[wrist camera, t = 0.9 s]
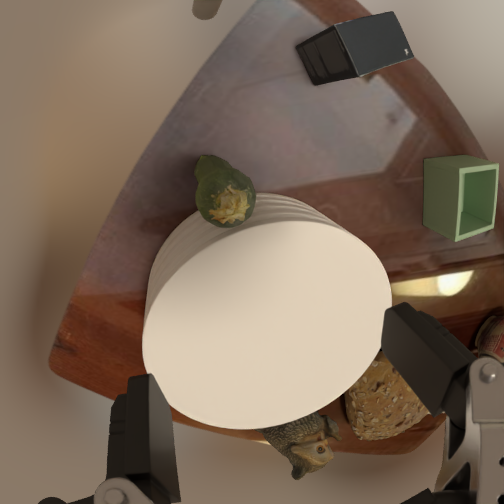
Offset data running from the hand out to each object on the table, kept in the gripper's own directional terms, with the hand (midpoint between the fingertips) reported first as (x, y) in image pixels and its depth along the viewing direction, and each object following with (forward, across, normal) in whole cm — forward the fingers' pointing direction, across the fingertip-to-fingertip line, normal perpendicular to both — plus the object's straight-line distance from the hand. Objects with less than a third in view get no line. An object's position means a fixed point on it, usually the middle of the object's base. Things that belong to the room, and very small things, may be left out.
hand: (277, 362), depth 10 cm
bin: (+29, -37, +7) cm, 47 cm away
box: (+29, -18, -13) cm, 36 cm away
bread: (+28, -27, +45) cm, 59 cm away
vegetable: (+29, -1, -1) cm, 29 cm away
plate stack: (+28, -4, +16) cm, 33 cm away
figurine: (+28, -6, +42) cm, 51 cm away
